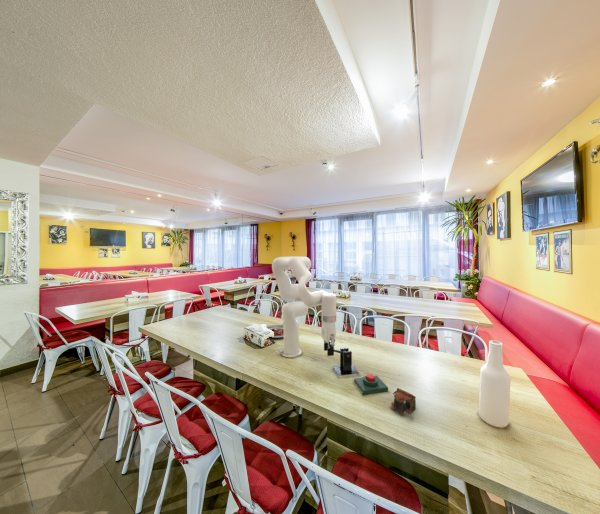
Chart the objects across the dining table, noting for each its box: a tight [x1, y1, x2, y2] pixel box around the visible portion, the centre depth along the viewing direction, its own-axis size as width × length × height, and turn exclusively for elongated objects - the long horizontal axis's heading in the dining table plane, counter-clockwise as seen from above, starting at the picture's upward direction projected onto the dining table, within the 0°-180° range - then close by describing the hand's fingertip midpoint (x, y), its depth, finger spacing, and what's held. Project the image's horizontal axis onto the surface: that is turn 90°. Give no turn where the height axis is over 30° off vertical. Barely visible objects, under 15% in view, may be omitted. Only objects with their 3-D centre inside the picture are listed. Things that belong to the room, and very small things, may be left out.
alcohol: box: [478, 339, 511, 428], centre depth 90 cm, size 9×9×30 cm
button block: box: [353, 374, 389, 396], centre depth 112 cm, size 12×10×4 cm
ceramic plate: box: [266, 324, 284, 338], centre depth 181 cm, size 26×26×3 cm
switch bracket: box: [332, 347, 360, 377], centre depth 125 cm, size 11×9×12 cm
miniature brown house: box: [390, 387, 417, 416], centre depth 96 cm, size 12×10×8 cm
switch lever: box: [326, 346, 346, 355], centre depth 124 cm, size 12×5×2 cm, turn 103°
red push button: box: [366, 373, 376, 382], centre depth 112 cm, size 4×4×2 cm
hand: (328, 352), depth 123 cm, fingers closed on switch lever, 5 cm apart
